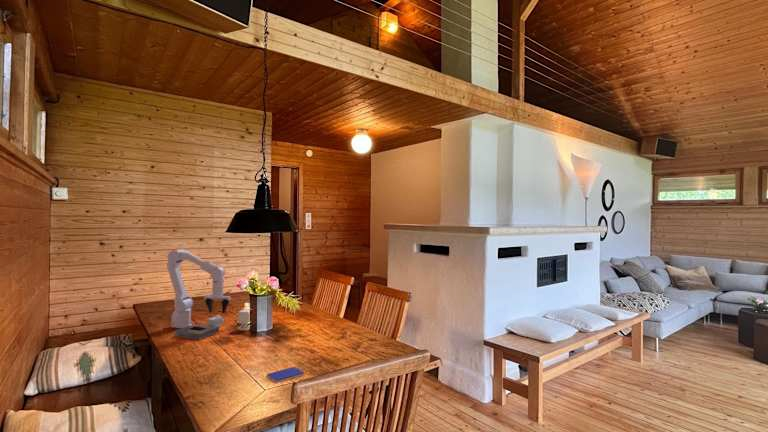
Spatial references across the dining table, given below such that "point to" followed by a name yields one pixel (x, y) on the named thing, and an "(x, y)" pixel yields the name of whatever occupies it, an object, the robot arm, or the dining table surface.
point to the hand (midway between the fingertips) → (217, 312)
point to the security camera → (244, 319)
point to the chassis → (196, 331)
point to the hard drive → (285, 374)
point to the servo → (215, 321)
